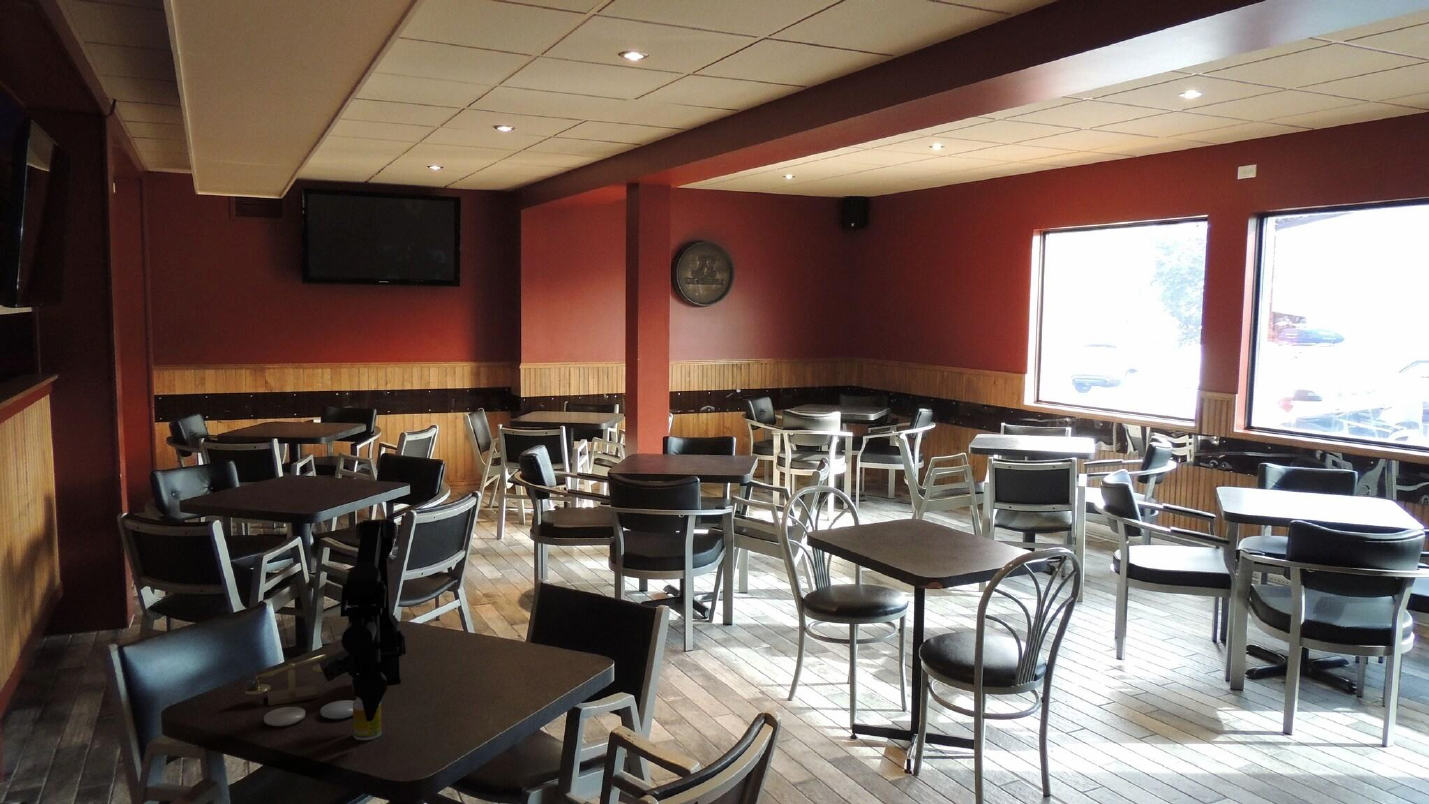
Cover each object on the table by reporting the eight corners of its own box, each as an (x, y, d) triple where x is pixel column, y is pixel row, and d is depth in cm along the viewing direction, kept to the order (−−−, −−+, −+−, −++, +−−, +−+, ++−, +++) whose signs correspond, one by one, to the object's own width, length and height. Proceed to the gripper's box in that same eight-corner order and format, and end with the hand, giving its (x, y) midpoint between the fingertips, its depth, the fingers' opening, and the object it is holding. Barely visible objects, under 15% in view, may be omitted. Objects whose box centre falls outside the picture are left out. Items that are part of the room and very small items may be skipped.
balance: (336, 686, 232) (334, 648, 231) (338, 695, 227) (336, 656, 226) (246, 699, 224) (244, 660, 223) (246, 709, 219) (244, 669, 218)
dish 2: (358, 703, 222) (358, 698, 222) (362, 717, 215) (362, 711, 214) (319, 709, 218) (319, 704, 218) (322, 723, 211) (321, 717, 211)
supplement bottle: (372, 742, 202) (371, 695, 201) (348, 739, 203) (346, 693, 203) (386, 731, 208) (385, 685, 207) (362, 729, 209) (361, 683, 208)
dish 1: (304, 710, 218) (304, 704, 218) (306, 724, 211) (306, 718, 211) (263, 716, 215) (263, 710, 215) (264, 730, 208) (264, 724, 207)
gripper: (318, 629, 209) (321, 702, 210) (325, 658, 192) (327, 737, 193) (375, 622, 213) (377, 694, 215) (386, 649, 197) (388, 727, 198)
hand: (366, 712), depth 205 cm, fingers open, 9 cm apart
